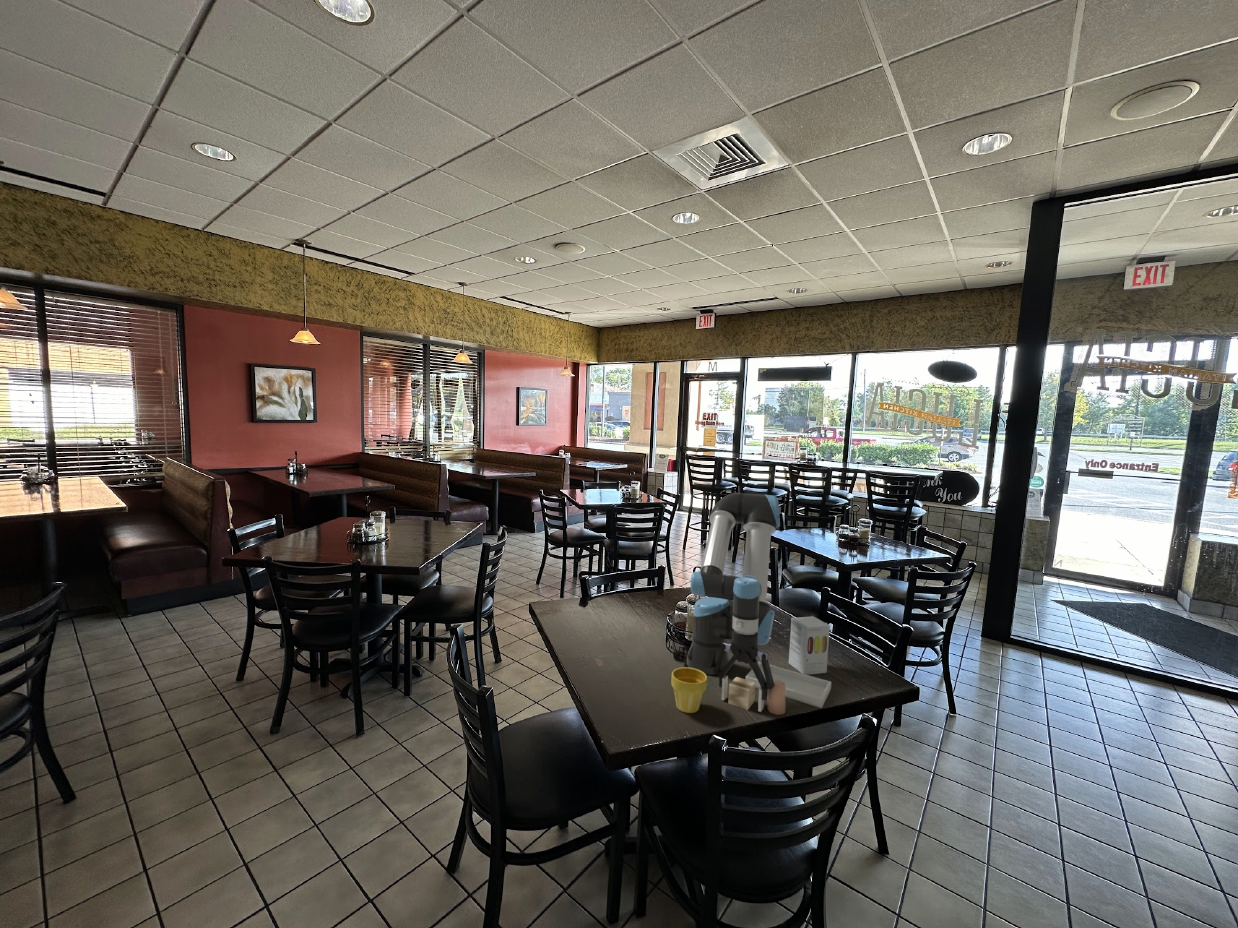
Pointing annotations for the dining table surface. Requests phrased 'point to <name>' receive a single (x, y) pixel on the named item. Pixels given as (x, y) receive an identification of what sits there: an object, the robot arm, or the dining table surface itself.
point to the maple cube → (741, 693)
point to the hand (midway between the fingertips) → (742, 703)
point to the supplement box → (809, 645)
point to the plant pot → (688, 688)
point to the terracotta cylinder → (777, 698)
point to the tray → (797, 685)
